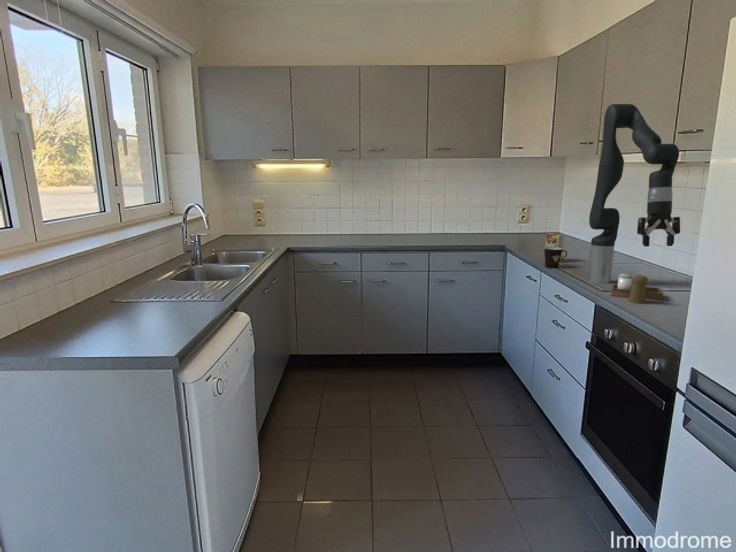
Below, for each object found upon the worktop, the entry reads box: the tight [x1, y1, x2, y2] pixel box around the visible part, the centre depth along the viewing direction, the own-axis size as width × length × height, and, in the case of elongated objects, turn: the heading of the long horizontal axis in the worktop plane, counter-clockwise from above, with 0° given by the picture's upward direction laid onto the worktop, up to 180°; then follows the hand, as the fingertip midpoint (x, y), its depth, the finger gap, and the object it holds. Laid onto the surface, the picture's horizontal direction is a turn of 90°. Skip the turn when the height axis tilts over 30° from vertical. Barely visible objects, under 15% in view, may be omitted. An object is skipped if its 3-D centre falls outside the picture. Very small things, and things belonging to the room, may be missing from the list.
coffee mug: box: [543, 247, 568, 269], centre depth 238 cm, size 12×9×10 cm
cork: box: [627, 274, 649, 305], centre depth 171 cm, size 6×6×11 cm
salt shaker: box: [617, 272, 633, 290], centre depth 181 cm, size 5×5×8 cm
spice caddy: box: [610, 283, 665, 302], centre depth 180 cm, size 9×17×4 cm, turn 64°
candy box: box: [544, 232, 565, 263], centre depth 253 cm, size 9×4×15 cm, turn 26°
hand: (657, 246), depth 165 cm, fingers open, 8 cm apart
